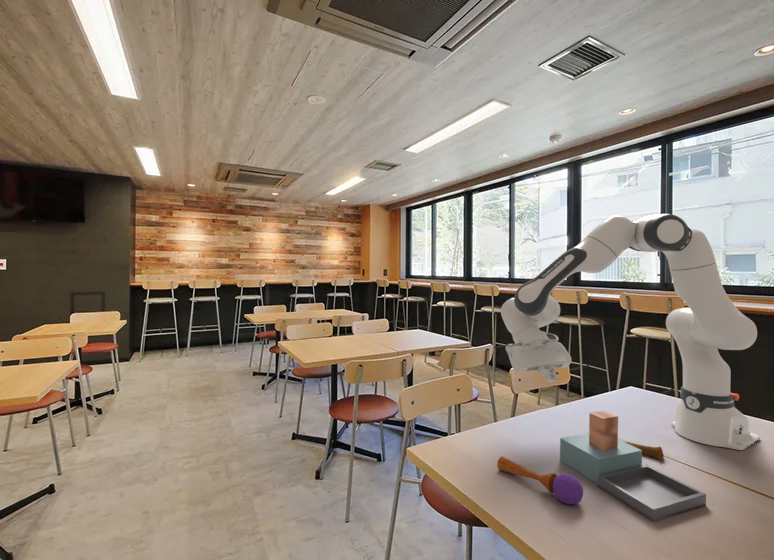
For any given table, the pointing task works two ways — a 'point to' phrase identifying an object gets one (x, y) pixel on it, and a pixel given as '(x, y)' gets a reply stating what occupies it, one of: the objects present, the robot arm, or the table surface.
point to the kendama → (548, 481)
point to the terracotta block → (603, 430)
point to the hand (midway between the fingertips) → (552, 381)
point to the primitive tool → (649, 450)
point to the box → (651, 492)
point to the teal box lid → (597, 456)
